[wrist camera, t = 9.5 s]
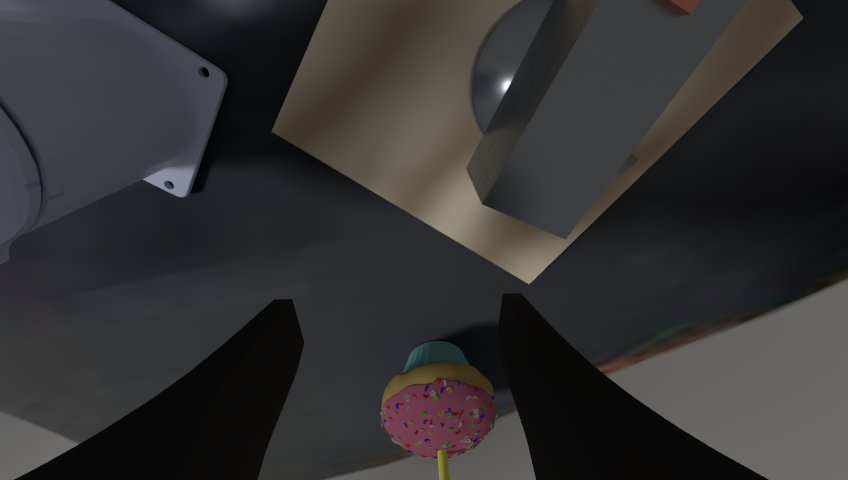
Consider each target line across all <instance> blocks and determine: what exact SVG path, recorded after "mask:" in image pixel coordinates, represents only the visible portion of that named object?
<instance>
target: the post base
mask: <svg viewBox="0 0 848 480" xmlns="http://www.w3.org/2000/svg"><path fill="white" fill-rule="evenodd" d="M519 1H521V0H328V1H327V4H326V6H325V8H324V11H323V13H322V15H321V18H320V20H319V22H318V25H317V27H316V29H315V32H314V34H313V36H312V39H311V41H310V43H309V45H308V48H307V50H306V52H305V55H304V57H303V59H302V62H301V64H300V66H299V69H298V71H297V73H296V76H295V78H294V80H293V83H292V85H291V87H290V90H289V92H288V94H287V97H286V99H285V101H284V104H283V106H282V108H281V111H280V113H279V115H278V118H277V120H276V122H275V124H274V127H273V129H272V131H271V132H273V133H275V134H276V135H278V136H280V137H281V138H283V139H285V140H286V141H288V142H290V143H292V144H293V145H295V146H297V147H298V148H300V149H302V150H303V151H305V152H307V153H308V154H310V155H312V156H314V157H315V158H317V159H319V160H320V161H322V162H324V163H325V164H327V165H329V166H330V167H332V168H334V169H335V170H337V171H339V172H341V173H342V174H344V175H346V176H347V177H349V178H351V179H352V180H354V181H356V182H357V183H359V184H361V185H362V186H364V187H366V188H368V189H369V190H371V191H373V192H374V193H376V194H378V195H379V196H381V197H383V198H384V199H386V200H388V201H389V202H391V203H393V204H395V205H396V206H398V207H400V208H401V209H403V210H405V211H406V212H408V213H410V214H411V215H413V216H415V217H417V218H418V219H420V220H422V221H423V222H425V223H427V224H428V225H430V226H432V227H433V228H435V229H437V230H438V231H440V232H442V233H444V234H445V235H447V236H449V237H450V238H452V239H454V240H455V241H457V242H459V243H460V244H462V245H464V246H465V247H467V248H469V249H471V250H472V251H474V252H476V253H477V254H479V255H481V256H482V257H484V258H486V259H487V260H489V261H491V262H493V263H494V264H496V265H498V266H499V267H501V268H503V269H504V270H506V271H508V272H509V273H511V274H513V275H514V276H516V277H518V278H520V279H521V280H523V281H525V282H526V283H528V284H530V283H531V282H532V281H533V280H534V279H535V278H536V277H537V276H538V275H539V274H540V273H541V272H542V271H543V270H544V269H545V268H546V267H547V266H548V265H549V264H550V263H552V262H553V261H554V260H555V259H556V258H557V257H558V256H559V255H560V254H561V253H562V252H563V251H564V250H565V249H566V248H567V247H568V246H569V245H570V244H571V243H572V242H573V241H574V240H575V239H576V238H577V237H578V236H579V235H580V234H581V233H582V232H583V231H584V230H586V229H587V228H588V227H589V226H590V225H591V224H592V223H593V222H594V221H595V220H596V219H597V218H598V217H599V216H600V215H601V214H602V213H603V212H604V211H605V210H606V209H607V208H608V207H609V206H610V205H611V204H612V203H613V202H614V201H615V200H616V199H617V198H619V197H620V196H621V195H622V194H623V193H624V192H625V191H626V190H627V189H628V188H629V187H630V186H631V185H632V184H633V183H634V182H635V181H636V180H637V179H638V178H639V177H640V176H641V175H642V174H643V173H644V172H645V171H646V170H647V169H648V168H649V167H650V166H652V165H653V164H654V163H655V162H656V161H657V160H658V159H659V158H660V157H661V156H662V155H663V154H664V153H665V152H666V151H667V150H668V149H669V148H670V147H671V146H672V145H673V144H674V143H675V142H676V141H677V140H678V139H679V138H680V137H681V136H682V135H683V134H685V133H686V132H687V131H688V130H689V129H690V128H691V127H692V126H693V125H694V124H695V123H696V122H697V121H698V120H699V119H700V118H701V117H702V116H703V115H704V114H705V113H706V112H707V111H708V110H709V109H710V108H711V107H712V106H713V105H714V104H715V103H716V102H718V101H719V100H720V99H721V98H722V97H723V96H724V95H725V94H726V93H727V92H728V91H729V90H730V89H731V88H732V87H733V86H734V85H735V84H736V83H737V82H738V81H739V80H740V79H741V78H742V77H743V76H744V75H745V74H746V73H747V72H748V71H749V70H751V69H752V68H753V67H754V66H755V65H756V64H757V63H758V62H759V61H760V60H761V59H762V58H763V57H764V56H765V55H766V54H767V53H768V52H769V51H770V50H771V49H772V48H773V47H774V46H775V45H776V44H777V43H778V42H779V41H780V40H781V39H782V38H784V37H785V36H786V35H787V34H788V33H789V32H790V31H791V30H792V29H793V28H794V27H795V26H796V25H797V24H798V23H799V22H800V21H801V20H802V19H803V17H802V15H801V14H800V13H799V11H798V10H797V8H796V7H795V6H794V4H793V3H792V1H791V0H748V1H747V2H746V3H745V5H744V6H743V7H742V9H741V10H740V11H739V13H738V14H737V15H736V16H735V18H734V19H733V20H732V22H731V23H730V24H729V26H728V27H727V28H726V30H725V31H724V32H723V34H722V35H721V36H720V37H719V39H718V40H717V41H716V43H715V44H714V45H713V47H712V48H711V49H710V51H709V52H708V53H707V55H706V56H705V57H704V59H703V60H702V61H701V62H700V64H699V65H698V66H697V68H696V69H695V70H694V72H693V73H692V74H691V76H690V77H689V78H688V80H687V81H686V82H685V83H684V85H683V86H682V87H681V89H680V90H679V91H678V93H677V94H676V95H675V97H674V98H673V99H672V101H671V102H670V103H669V105H668V106H667V107H666V108H665V110H664V111H663V112H662V114H661V115H660V116H659V118H658V119H657V120H656V122H655V123H654V124H653V126H652V127H651V128H650V129H649V131H648V132H647V133H646V135H645V136H644V137H643V139H642V140H641V141H640V143H639V144H638V145H637V147H636V148H635V149H634V151H633V152H632V153H631V154H630V156H629V157H628V158H627V160H626V161H625V162H624V164H623V165H622V166H621V168H620V169H619V170H618V172H617V173H616V174H615V175H614V177H613V178H612V179H611V181H610V182H609V183H608V185H607V186H606V187H605V189H604V190H603V191H602V193H601V194H600V195H599V196H598V198H597V199H596V200H595V202H594V203H593V204H592V206H591V207H590V208H589V210H588V211H587V212H586V214H585V215H584V216H583V218H582V219H581V220H580V221H579V223H578V224H577V225H576V227H575V228H574V229H573V231H572V232H571V233H570V235H569V236H568V237H567V239H566V240H565V239H563V238H560V237H558V236H556V235H553V234H551V233H549V232H546V231H544V230H541V229H539V228H537V227H534V226H532V225H530V224H527V223H525V222H522V221H520V220H518V219H515V218H513V217H511V216H508V215H506V214H503V213H501V212H499V211H496V210H494V209H492V208H489V207H487V206H484V205H482V204H481V202H480V199H479V197H478V195H477V193H476V190H475V188H474V186H473V183H472V181H471V179H470V177H469V174H468V172H467V170H466V167H467V165H468V163H469V161H470V160H471V158H472V156H473V154H474V152H475V150H476V148H477V146H478V144H479V142H480V140H481V139H482V137H483V134H482V133H481V132H480V130H479V128H478V126H477V124H476V123H475V120H474V117H473V114H472V110H471V106H470V98H469V81H470V74H471V69H472V65H473V61H474V58H475V56H476V53H477V50H478V48H479V46H480V44H481V42H482V40H483V38H484V37H485V35H486V34H487V32H488V31H489V29H490V28H491V26H492V25H493V24H494V23H495V22H496V21H497V19H498V18H499V17H500V16H501V15H502V14H503V13H505V12H506V11H507V10H508V9H509V8H510V7H512V6H513V5H515V4H516V3H517V2H519Z"/></svg>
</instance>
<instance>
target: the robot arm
mask: <svg viewBox="0 0 848 480" xmlns="http://www.w3.org/2000/svg"><path fill="white" fill-rule="evenodd" d="M203 67H205V68H206V69H207V70H208V71H209V77H206V76H205V75H204V74H203V72H202V69H203ZM227 84H228V79H227V76H226V74H225V72H224V71H222V70H221V69H220V68H218V67H217V66H215V65H213V64H212V63H210V62H209V61H207V60H205V59H204V58H202V57H201V56H199V55H197V54H196V53H194V52H192V51H191V50H189V49H188V48H186V47H184V46H183V45H181V44H180V43H178V42H176V41H175V40H173V39H172V38H170V37H168V36H167V35H165V34H164V33H162V32H160V31H159V30H157V29H155V28H154V27H152V26H151V25H149V24H147V23H146V22H144V21H143V20H141V19H139V18H138V17H136V16H135V15H133V14H131V13H130V12H128V11H127V10H125V9H123V8H122V7H120V6H118V5H117V4H115V3H114V2H112V1H110V0H0V264H2V263H4V262H6V261H8V260H9V253H8V251H9V246H10V244H11V243H12V241H14V240H15V239H16V238H17V237H19V236H21V235H24V234H26V233H28V232H30V231H32V230H35V229H37V228H39V227H41V226H43V225H45V224H47V223H50V222H52V221H54V220H56V219H58V218H60V217H62V216H65V215H67V214H69V213H71V212H73V211H75V210H77V209H80V208H82V207H84V206H86V205H88V204H90V203H92V202H95V201H97V200H99V199H101V198H103V197H105V196H107V195H110V194H112V193H114V192H116V191H118V190H120V189H122V188H125V187H127V186H129V185H131V184H133V183H135V182H137V181H140V180H142V179H143V180H145V181H147V182H149V183H151V184H153V185H155V186H157V187H159V188H161V189H163V190H166V191H168V192H170V193H172V194H174V195H176V196H178V197H185V196H187V195H188V194H189V193H190V192H191V189H192V186H193V183H194V181H195V178H196V175H197V172H198V169H199V166H200V163H201V160H202V157H203V154H204V151H205V149H206V146H207V143H208V140H209V137H210V134H211V131H212V128H213V125H214V122H215V119H216V116H217V114H218V111H219V108H220V105H221V102H222V99H223V96H224V93H225V90H226V87H227ZM169 181H170V182H172V183H173V185H174V187H173V186H171V185H170V184H169ZM497 338H498V344H499V349H500V354H501V359H502V363H503V367H504V370H505V373H506V377H507V380H508V383H509V386H510V389H511V392H512V395H513V398H514V401H515V404H516V407H517V410H518V413H519V416H520V419H521V423H522V426H523V428H524V432H525V435H526V439H527V442H528V446H529V451H530V455H531V459H532V464H533V468H534V472H535V476H536V480H768V479H766V478H765V477H763V476H761V475H759V474H757V473H756V472H754V471H752V470H750V469H749V468H747V467H745V466H743V465H741V464H740V463H738V462H736V461H734V460H732V459H730V458H729V457H727V456H725V455H723V454H722V453H720V452H718V451H716V450H714V449H713V448H711V447H709V446H708V445H706V444H705V443H703V442H701V441H700V440H698V439H696V438H695V437H693V436H692V435H690V434H688V433H686V432H685V431H683V430H682V429H680V428H678V427H677V426H675V425H674V424H672V423H671V422H669V421H668V420H666V419H664V418H663V417H662V416H660V415H659V414H657V413H656V412H654V411H653V410H651V409H650V408H649V407H647V406H646V405H644V404H643V403H641V402H640V401H638V400H637V399H636V398H634V397H633V396H632V395H630V394H629V393H627V392H626V391H625V390H623V389H622V388H621V387H619V386H618V385H617V384H616V383H614V382H613V381H612V380H611V379H609V378H608V377H607V376H606V375H604V374H603V373H602V372H600V371H599V370H598V369H597V368H596V367H595V366H593V365H592V364H591V363H590V362H589V361H588V360H586V359H585V358H584V357H583V356H582V355H581V354H580V353H579V352H578V351H576V350H575V349H574V348H573V347H572V346H571V345H570V344H569V343H568V342H567V341H566V340H565V339H564V338H563V337H562V336H561V335H560V334H559V333H558V332H557V331H556V330H555V329H554V328H553V327H552V326H551V325H550V324H549V323H548V322H547V321H546V320H545V319H544V318H543V317H542V316H541V314H540V313H539V312H538V311H537V310H536V309H535V308H534V307H533V306H532V305H531V304H530V303H529V301H528V300H527V299H526V298H525V297H524V296H523V295H522V294H521V293H514V294H503V297H502V305H501V312H500V320H499V327H498V335H497ZM303 346H304V339H303V336H302V332H301V329H300V325H299V322H298V318H297V315H296V311H295V307H294V304H293V300H292V299H286V300H274V301H272V302H271V303H270V304H269V305H268V306H266V307H265V308H264V309H263V310H262V311H261V312H260V313H258V314H257V315H256V316H255V317H254V318H253V319H252V320H251V321H250V322H248V323H247V324H246V325H245V326H244V327H243V328H242V329H240V330H239V331H238V332H237V333H236V334H235V335H234V336H232V337H231V338H230V339H229V340H228V341H227V342H226V343H224V344H223V345H222V346H221V347H220V348H218V349H217V350H216V351H215V352H213V353H212V354H211V355H210V356H208V357H207V358H206V359H205V360H204V361H202V362H201V363H200V364H199V365H197V366H196V367H195V368H194V369H192V370H191V371H190V372H189V373H187V374H186V375H185V376H183V377H182V378H181V379H179V380H178V381H176V382H175V383H174V384H172V385H171V386H170V387H168V388H167V389H165V390H164V391H162V392H161V393H160V394H158V395H157V396H155V397H154V398H152V399H151V400H150V401H148V402H147V403H145V404H143V405H142V406H140V407H139V408H137V409H136V410H134V411H132V412H131V413H129V414H128V415H126V416H125V417H123V418H122V419H120V420H118V421H117V422H115V423H114V424H112V425H111V426H109V427H107V428H106V429H104V430H103V431H101V432H99V433H98V434H96V435H94V436H92V437H91V438H89V439H87V440H86V441H84V442H82V443H80V444H79V445H77V446H76V447H74V448H72V449H70V450H68V451H66V452H65V453H63V454H61V455H59V456H58V457H56V458H54V459H52V460H51V461H49V462H47V463H45V464H43V465H41V466H39V467H38V468H36V469H34V470H32V471H30V472H28V473H26V474H25V475H22V476H20V477H19V478H17V479H15V480H257V479H258V476H259V472H260V469H261V466H262V462H263V459H264V455H265V452H266V449H267V447H268V444H269V441H270V438H271V436H272V433H273V431H274V428H275V426H276V423H277V421H278V418H279V415H280V413H281V410H282V408H283V405H284V403H285V400H286V398H287V395H288V393H289V390H290V388H291V385H292V383H293V380H294V377H295V375H296V372H297V369H298V365H299V362H300V358H301V354H302V350H303Z"/></svg>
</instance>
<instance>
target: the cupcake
mask: <svg viewBox="0 0 848 480" xmlns="http://www.w3.org/2000/svg"><path fill="white" fill-rule="evenodd" d="M496 409H497V403H496V400H495V398H494V394H493V388H492V384H491V383H490V381H489V380H488V379H487V378H486V377H484V376H483V375H482V374H481V373H480V372H479V371H478V370H477V369H476V368H474V367H473V366H471V365H469V363H468V361H467V360H466V358H465V356H464V354H463V352H462V351H461V349H460V348H458V347H457V346H456V345H454V344H452V343H449V342H445V341H431V342H426V343H424V344H421V345H419V346H418V347H416V348H415V349H414V350H413V351H412V352H411V354H410V356H409V359H408V362H407V364H406V367H405V369H404V372H403V373H399V374H397V375H396V376H395V377H394V378H393V379H392V380H391V381H390V382H389V383H388V385H387V387H386V389H385V392H384V395H383V400H382V412H381V413H380V414H381V415H382V417H381V421H382V422H381V426H382V427H385V429H386V431H387V433H388V434H389V435H390V436H391V437H392V441H393V440H394V441H393V442H394V443H396V444H399V445H400V446H401V448H402V449H403V450H406V449H407V450H408V452H412V453H414V454H416V455H419V456H423V457H433V458H438V465H439V479H440V480H449V469H448V458H450V457H451V456H454V455H455V456H458V455H459V454H460V453H461V454H463V453H464V452H465V451H466V450H470V449H473V448H475V447H476V446H477V445H478V444H479V443H480V441H481V440H483V439H484V437H486V436H487V435H488V432H489V431H490V430H491V429H490V428H492V429H493V428H494V423H495V421H494V419H495V418H496V417H497V412H496ZM382 423H383V425H382Z"/></svg>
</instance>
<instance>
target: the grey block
mask: <svg viewBox="0 0 848 480" xmlns="http://www.w3.org/2000/svg"><path fill="white" fill-rule="evenodd" d="M747 1H748V0H521V1H519V2H517V3H516V4H515V5H513V6H512V7H510V8H509V9H508V10H507V11H506V12H505V13H503V14H502V15H501V16H500V17H499V18H498V19H497V21H496V22H495V23H494V24H493V25H492V26H491V28H490V29H489V31H488V32H487V34H486V35H485V37H484V38H483V40H482V42H481V44H480V46H479V48H478V50H477V53H476V56H475V58H474V61H473V65H472V69H471V74H470V81H469V98H470V106H471V110H472V114H473V117H474V120H475V123H476V124H477V126H478V128H479V130H480V132H481V133H482V134H483V137H482V139H481V140H480V142H479V144H478V146H477V148H476V150H475V152H474V154H473V156H472V158H471V160H470V161H469V163H468V165H467V167H466V170H467V172H468V174H469V177H470V179H471V181H472V183H473V186H474V188H475V190H476V193H477V195H478V197H479V199H480V202H481V204H482V205H484V206H487V207H489V208H492V209H494V210H496V211H499V212H501V213H503V214H506V215H508V216H511V217H513V218H515V219H518V220H520V221H522V222H525V223H527V224H530V225H532V226H534V227H537V228H539V229H541V230H544V231H546V232H549V233H551V234H553V235H556V236H558V237H560V238H563V239H565V240H566V239H567V237H568V236H569V235H570V233H571V232H572V231H573V229H574V228H575V227H576V225H577V224H578V223H579V221H580V220H581V219H582V218H583V216H584V215H585V214H586V212H587V211H588V210H589V208H590V207H591V206H592V204H593V203H594V202H595V200H596V199H597V198H598V196H599V195H600V194H601V193H602V191H603V190H604V189H605V187H606V186H607V185H608V183H609V182H610V181H611V179H612V178H613V177H614V175H615V174H616V173H617V172H618V170H619V169H620V168H621V166H622V165H623V164H624V162H625V161H626V160H627V158H628V157H629V156H630V154H631V153H632V152H633V151H634V149H635V148H636V147H637V145H638V144H639V143H640V141H641V140H642V139H643V137H644V136H645V135H646V133H647V132H648V131H649V129H650V128H651V127H652V126H653V124H654V123H655V122H656V120H657V119H658V118H659V116H660V115H661V114H662V112H663V111H664V110H665V108H666V107H667V106H668V105H669V103H670V102H671V101H672V99H673V98H674V97H675V95H676V94H677V93H678V91H679V90H680V89H681V87H682V86H683V85H684V83H685V82H686V81H687V80H688V78H689V77H690V76H691V74H692V73H693V72H694V70H695V69H696V68H697V66H698V65H699V64H700V62H701V61H702V60H703V59H704V57H705V56H706V55H707V53H708V52H709V51H710V49H711V48H712V47H713V45H714V44H715V43H716V41H717V40H718V39H719V37H720V36H721V35H722V34H723V32H724V31H725V30H726V28H727V27H728V26H729V24H730V23H731V22H732V20H733V19H734V18H735V16H736V15H737V14H738V13H739V11H740V10H741V9H742V7H743V6H744V5H745V3H746V2H747Z"/></svg>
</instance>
